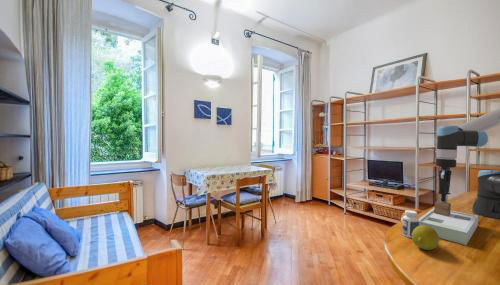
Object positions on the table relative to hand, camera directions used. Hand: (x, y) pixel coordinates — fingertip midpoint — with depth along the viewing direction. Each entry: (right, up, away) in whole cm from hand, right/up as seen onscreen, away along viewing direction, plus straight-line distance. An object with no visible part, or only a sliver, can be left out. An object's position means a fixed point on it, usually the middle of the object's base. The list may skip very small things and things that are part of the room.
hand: (443, 207), depth 116 cm
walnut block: (-2, -2, -2) cm, 4 cm away
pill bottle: (-28, -7, -18) cm, 34 cm away
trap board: (-6, -6, -10) cm, 13 cm away
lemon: (-29, -7, -29) cm, 42 cm away
